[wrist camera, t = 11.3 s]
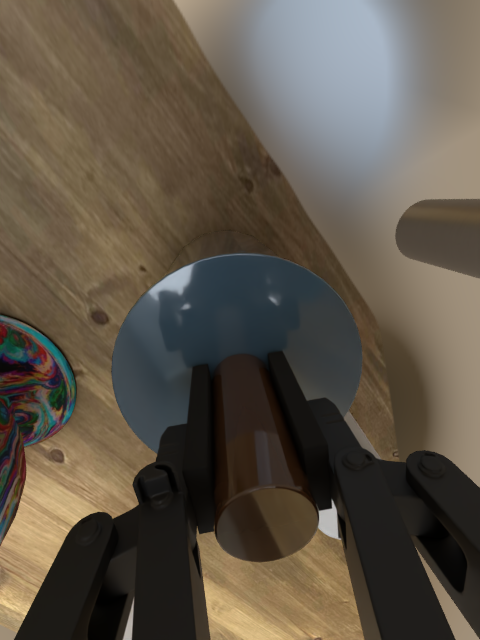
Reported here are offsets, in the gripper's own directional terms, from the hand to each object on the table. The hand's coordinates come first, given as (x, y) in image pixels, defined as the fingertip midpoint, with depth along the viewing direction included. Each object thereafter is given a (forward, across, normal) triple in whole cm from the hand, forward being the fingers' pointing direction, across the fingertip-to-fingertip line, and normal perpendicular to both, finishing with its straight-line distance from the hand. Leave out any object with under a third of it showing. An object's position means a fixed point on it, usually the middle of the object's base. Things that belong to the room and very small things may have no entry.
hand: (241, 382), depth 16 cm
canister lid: (+1, 0, 0) cm, 1 cm away
